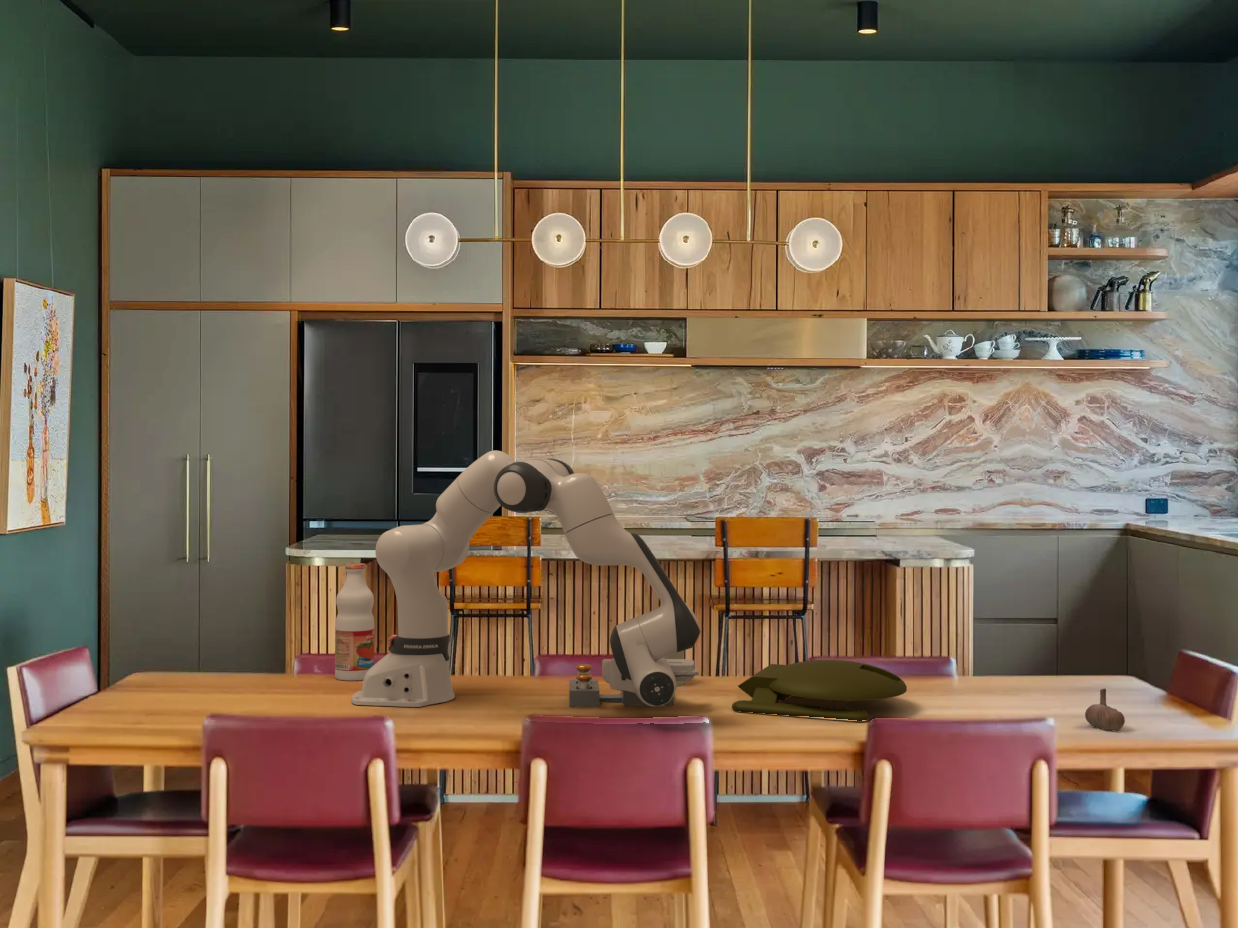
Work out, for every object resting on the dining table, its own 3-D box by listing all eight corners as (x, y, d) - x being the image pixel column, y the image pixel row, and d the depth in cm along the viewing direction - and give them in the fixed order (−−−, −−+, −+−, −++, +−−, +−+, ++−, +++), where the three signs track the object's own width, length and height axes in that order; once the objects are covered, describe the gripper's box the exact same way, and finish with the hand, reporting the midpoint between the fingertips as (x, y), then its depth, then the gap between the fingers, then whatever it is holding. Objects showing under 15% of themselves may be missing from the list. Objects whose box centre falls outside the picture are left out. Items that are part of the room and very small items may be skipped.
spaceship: (728, 713, 234) (728, 667, 234) (763, 687, 262) (764, 646, 262) (896, 728, 221) (897, 679, 221) (914, 699, 250) (914, 656, 250)
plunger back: (576, 691, 246) (576, 666, 246) (576, 688, 249) (576, 664, 249) (591, 691, 246) (591, 666, 246) (591, 688, 249) (591, 664, 249)
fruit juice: (341, 673, 276) (342, 562, 276) (378, 674, 275) (379, 562, 275) (329, 680, 266) (330, 565, 266) (367, 681, 266) (368, 565, 266)
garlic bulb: (1082, 723, 225) (1082, 683, 225) (1121, 725, 223) (1121, 686, 223) (1087, 731, 218) (1087, 690, 218) (1127, 733, 216) (1127, 693, 216)
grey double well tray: (569, 706, 238) (569, 690, 238) (569, 694, 251) (569, 679, 251) (674, 706, 239) (674, 690, 239) (668, 694, 252) (668, 679, 252)
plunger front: (576, 702, 240) (576, 676, 240) (576, 698, 243) (576, 673, 243) (592, 702, 240) (592, 676, 240) (591, 698, 243) (591, 673, 243)
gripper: (699, 659, 233) (692, 649, 247) (603, 659, 232) (601, 649, 246) (699, 689, 233) (692, 677, 247) (603, 689, 232) (601, 677, 246)
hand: (646, 663), depth 246 cm, fingers closed on smoothie, 6 cm apart
